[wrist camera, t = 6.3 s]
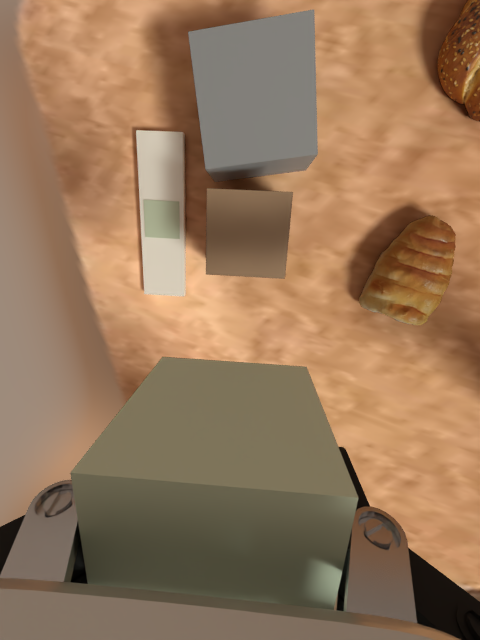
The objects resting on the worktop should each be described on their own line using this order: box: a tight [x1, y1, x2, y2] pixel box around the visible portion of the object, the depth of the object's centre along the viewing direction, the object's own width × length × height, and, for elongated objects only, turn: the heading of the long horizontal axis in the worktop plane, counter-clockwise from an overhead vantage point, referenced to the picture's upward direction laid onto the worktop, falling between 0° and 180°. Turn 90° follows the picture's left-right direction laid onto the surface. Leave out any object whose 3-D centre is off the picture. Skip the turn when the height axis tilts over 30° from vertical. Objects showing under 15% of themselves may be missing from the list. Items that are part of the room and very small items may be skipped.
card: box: [136, 130, 186, 296], centre depth 25 cm, size 14×4×1 cm, turn 177°
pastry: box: [359, 216, 456, 325], centre depth 24 cm, size 9×7×4 cm
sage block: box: [71, 357, 358, 610], centre depth 9 cm, size 6×6×6 cm
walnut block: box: [206, 188, 293, 279], centre depth 23 cm, size 6×6×6 cm
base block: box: [188, 10, 318, 182], centre depth 21 cm, size 8×8×5 cm
